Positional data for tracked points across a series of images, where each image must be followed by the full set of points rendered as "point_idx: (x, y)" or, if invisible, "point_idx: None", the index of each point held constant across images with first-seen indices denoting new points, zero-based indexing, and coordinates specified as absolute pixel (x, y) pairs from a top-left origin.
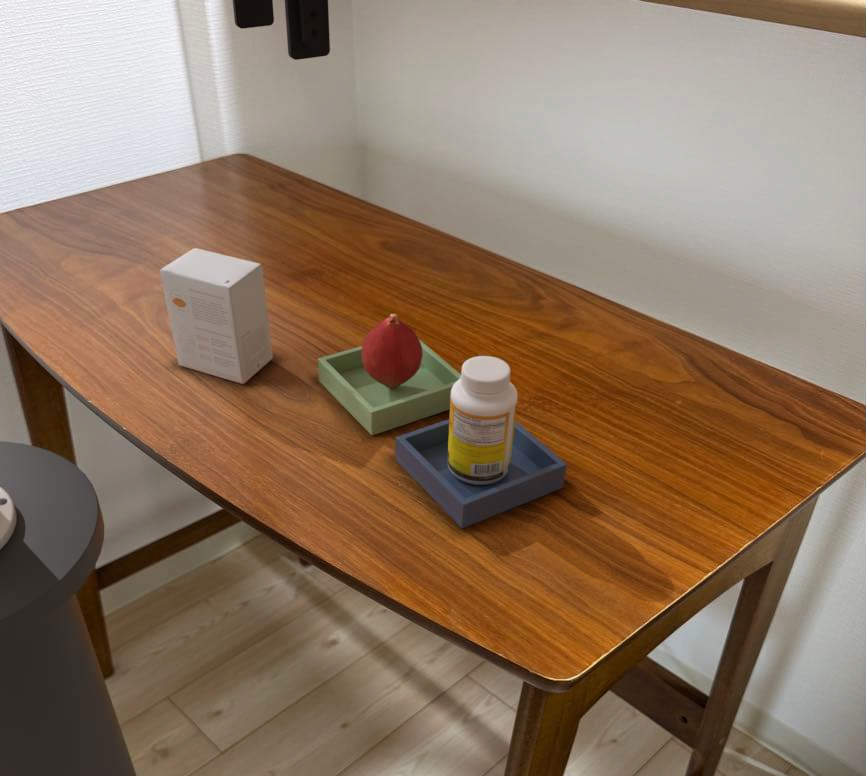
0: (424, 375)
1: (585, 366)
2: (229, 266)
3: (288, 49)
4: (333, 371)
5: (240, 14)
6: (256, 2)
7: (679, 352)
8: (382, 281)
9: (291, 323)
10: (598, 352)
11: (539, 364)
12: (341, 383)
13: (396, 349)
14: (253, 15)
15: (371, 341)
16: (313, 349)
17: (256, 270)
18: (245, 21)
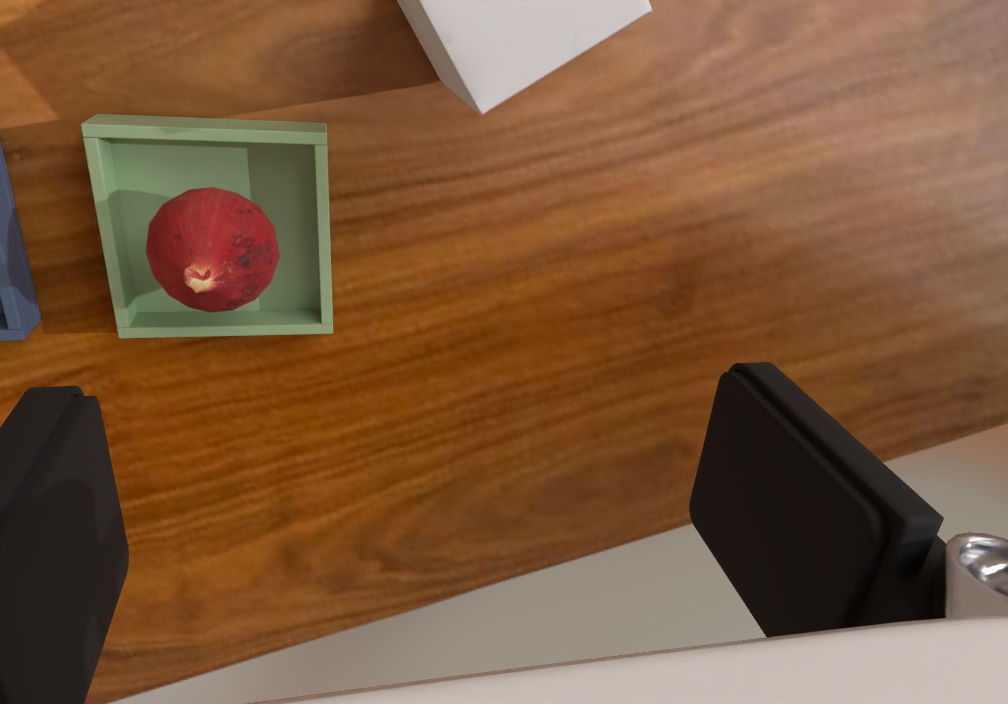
0: None
1: (160, 528)
2: (508, 36)
3: (54, 399)
4: (264, 136)
5: (753, 404)
6: (753, 514)
7: (137, 652)
8: (579, 389)
9: (544, 181)
10: (191, 562)
11: (198, 474)
12: (217, 128)
13: (154, 247)
14: (727, 459)
15: (201, 217)
16: (437, 171)
17: (466, 92)
18: (729, 406)
